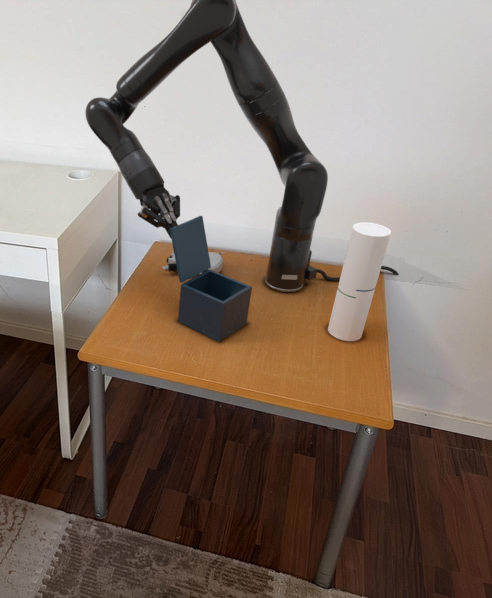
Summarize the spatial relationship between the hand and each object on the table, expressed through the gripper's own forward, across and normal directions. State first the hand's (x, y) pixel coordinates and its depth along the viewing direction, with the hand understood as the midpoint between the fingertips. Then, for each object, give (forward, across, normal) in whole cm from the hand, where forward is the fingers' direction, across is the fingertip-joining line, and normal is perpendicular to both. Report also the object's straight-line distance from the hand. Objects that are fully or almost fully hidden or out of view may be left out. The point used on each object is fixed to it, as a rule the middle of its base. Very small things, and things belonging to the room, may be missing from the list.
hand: (178, 238), depth 130 cm
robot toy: (+7, +17, +18) cm, 25 cm away
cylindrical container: (+37, +18, -12) cm, 43 cm away
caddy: (+20, 0, +4) cm, 21 cm away
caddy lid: (+4, 0, -2) cm, 4 cm away
